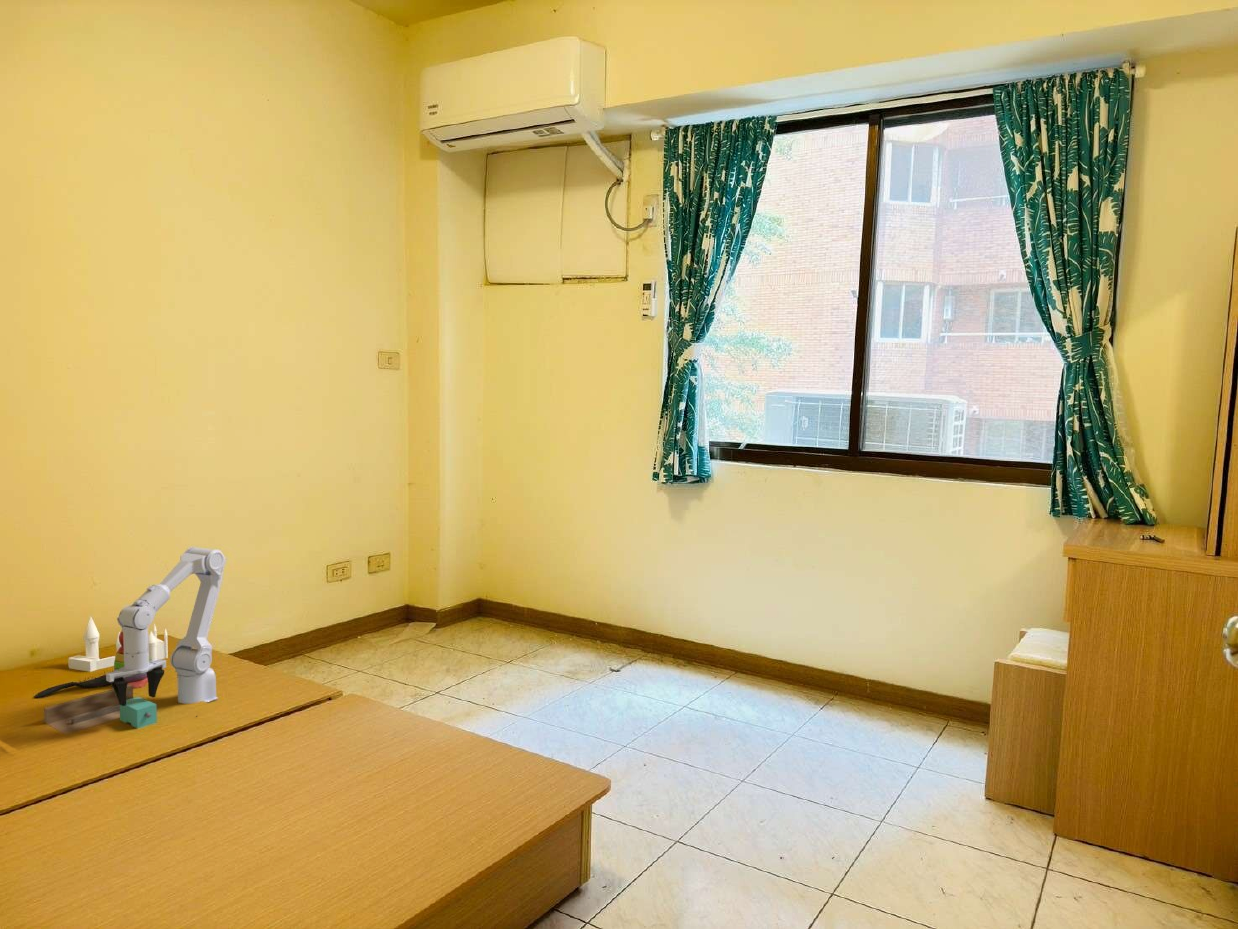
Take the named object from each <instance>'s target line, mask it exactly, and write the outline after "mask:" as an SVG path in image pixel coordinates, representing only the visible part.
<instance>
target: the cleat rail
mask: <svg viewBox="0 0 1238 929" xmlns="http://www.w3.org/2000/svg"><path fill="white" fill-rule="evenodd" d="M117 711H120V705H117V706H113V707H110V708H106V709H103V710H100V711H96V712H93V713H89V714H86V715H82V716H79V717H76V718H72V719H71V723H72V724H76V723H80V722H83V721H86V720H90V719H93V718H96V717H100V716H103V715H106V714H110V713H113V712H117Z"/></svg>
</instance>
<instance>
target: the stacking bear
mask: <svg viewBox="0 0 1238 929" xmlns="http://www.w3.org/2000/svg"><path fill="white" fill-rule="evenodd" d="M118 635H119V634H118ZM119 642H120V644H121V647H120V648H119V650H118V651H117V650H116V652H115V655H114V656H115V661H114V666H113V671H115V670H118V669H120V668H123V667H124V641H123V632H122V630H120V635H119ZM149 662H150V657H149ZM123 679H125V681H126V682H128V684H127V685H129V684H131V685H133V690H134V689H141V688H143V687H145V686H146V684H148V678H147V673H146V672H145V673H140V674H136V675H132V676H128V677H125V678H123Z"/></svg>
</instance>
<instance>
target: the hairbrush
mask: <svg viewBox="0 0 1238 929" xmlns="http://www.w3.org/2000/svg"><path fill="white" fill-rule="evenodd" d="M113 671H114V669H112V670H111V672H113ZM103 673H104V674H103ZM103 673H102V672H101V674H100V672H98V676H96V674H95V675H93V677H92V676H91V675H90V676H89V677H87V678H84V679H83V680H79V681H77V682H76V681H71V682H66V683H61V684H58V685H55V686H51V687H48V688H46V689H43V690H42V691H39V692H37V693H36V694H35V695H34V696H33V698H34V699H43V698H46V697H48V696H50V695H52V694H54V693H57V692H60V691H62V690H65V689H68V688H73V687H77V688H82V689H98V688H105V687H109V686H111V684H110V683H109V682H108V681H106V674H105V673H106V671H103ZM90 678H91V679H90Z"/></svg>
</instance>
